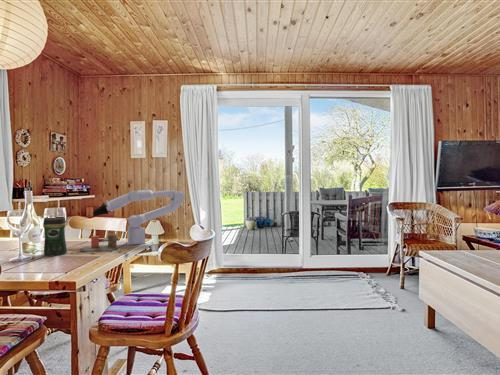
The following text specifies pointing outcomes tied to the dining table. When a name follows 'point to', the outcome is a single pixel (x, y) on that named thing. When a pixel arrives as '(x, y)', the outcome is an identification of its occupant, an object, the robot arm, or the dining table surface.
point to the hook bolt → (96, 240)
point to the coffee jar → (54, 236)
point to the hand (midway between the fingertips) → (93, 213)
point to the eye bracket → (111, 245)
